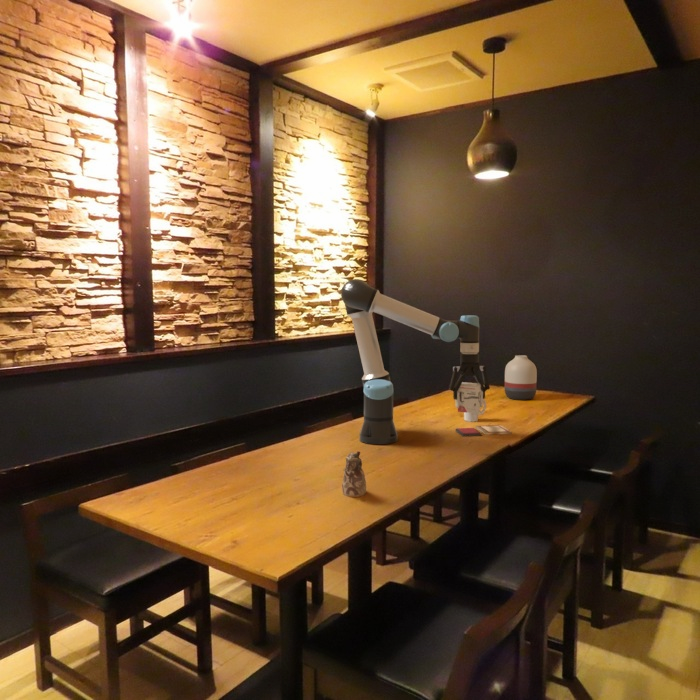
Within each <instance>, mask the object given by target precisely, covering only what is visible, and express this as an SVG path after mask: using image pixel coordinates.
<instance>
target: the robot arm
mask: <svg viewBox="0 0 700 700" xmlns="http://www.w3.org/2000/svg"><path fill="white" fill-rule="evenodd" d="M340 296H341V299H342V302H343V303H344V307H345V311H346V315H347V316H348V317H349V318H351V321H352V325H353V329H354V334H355V339H356V342H357V347H358V348H357V349H358V351H359V357H360V361H361V362H360V363H361V365H362V369H363V376H362V377H361V383H362V387H363V391H362V392H363V422H362V426H361V429H360V432H359V441H360V442H362V443H364V444H370V445H389V444H394V443H396V442H398V432H397V429H396V428H397V427H396V425H395V423H394V389H395V388H394V384H393V383H392V381H391V377H390V372H388V370H385V368H384V367H385V366H384V362H383V357H382V353H381V348H380V344H379V341H378V335H377V331H376V326H375V322H374V318H373V317H374V316H373V313H375V314H378V315H381V316H383V317H386V318H388V319H390V320H393V321H395V322H398V323H400V324H403V325H405V326H408V327H410V328H413V329H415V330H418V331H421V332H422V333H425V334H427V335H430V337H431V338H432V339H433V340H442V341H443V342H446V343H452V342H455V340H458V339H460V342H459V343H460V345H459V346H460V351H459V352H460V356H459V357H460V358H459V360H460V363H459V366H456V365H455V366H452V374H451V378H450V382H449V386H448V390H450V391H452V392H453V394H452V397H453V400H454V401H455V407H456V409H458V408H459V392H458V389H459V387H460V385H461V383H462V382H463V381H464V380H465V378H466V377H469V376H472V377H473V378H474V379H475V381H476V383H479V384H481V404H480V408H484V403H483V399H484V400H485V398H486V392H487V390H490V389H491V388H490V383H489V379H488V375H487V366H486V365H480V354H479V352H480V317H479V316H478V315H467V314H466V315H461V316H460V319H459V320H446V319H443V318H441V317H439V316H437V315H433V314H432V313H429V312H427V311H424V310H421V309H418V308H417V307H415V306H411V305H409V304H408V303H405V302H402V301H401V300H400V301H399V300H397V299H394V298H392V297H390V296H387V295H385V294H382V293H380V290H379V289H377V288H375V287H372V286H371V285H369V284H368V283H367V282H366V281H364V280H362V279H355V278H354V279H350V280H348V281H346V282H345V283H344V284H343V286H342V289H341V291H340ZM459 370H460V374H459V377H458V379H457V376H458V372H459ZM479 370H480V371H481V377H482V380H481V378H480V375H479V373H478V372H479ZM456 380H457V381H456Z"/></svg>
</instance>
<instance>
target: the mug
mask: <svg viewBox="0 0 700 700" xmlns="http://www.w3.org/2000/svg"><path fill="white" fill-rule="evenodd" d="M486 408H487V402H486V400H485V399H483V407H482V410H480V412H479V413H467V412H463V420H464V421H465V422H470V423H471V422H472V423H473V422H478V421H479V416H480V415H482V416H483V415H484V414H485V411H486Z"/></svg>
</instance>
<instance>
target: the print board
mask: <svg viewBox="0 0 700 700" xmlns="http://www.w3.org/2000/svg"><path fill="white" fill-rule="evenodd" d="M475 428H476V430H477V431H478V430H479V432H480V433H483V434H484V435H487V436H489V435H490V436H491V435H492V436H494V435H512V434H513V432H512V431H511V430H509V429H508V428H506V427H505V426H502V425H501V424H497V425H496V424H495V425H493V424H492V425H475Z"/></svg>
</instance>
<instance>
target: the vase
mask: <svg viewBox="0 0 700 700" xmlns="http://www.w3.org/2000/svg"><path fill="white" fill-rule="evenodd" d="M537 372H538V370H537V367H536V365H535V363H534V362H532V360H530V359H529V358H528V355H522V354H521V355H520V354H519V355H517V354H515V355H514V358H513V359H512V360H510V361H508V362H507V364H505V368H504V393H505V396H506V397H507V398H509V399H511V400H516V401H528V400H532V399H534V398H535V397H536V394H537V382H538V381H537V379H538V378H537V375H538V373H537Z"/></svg>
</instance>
